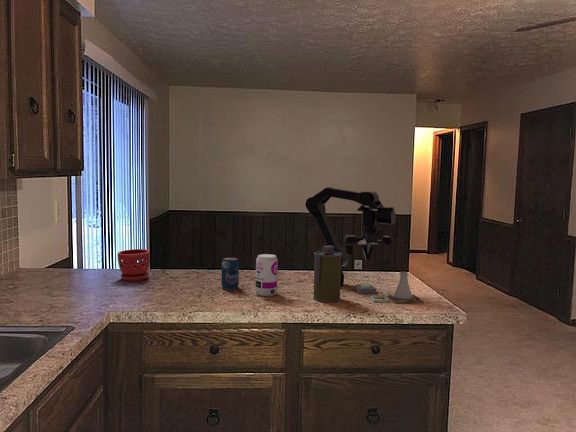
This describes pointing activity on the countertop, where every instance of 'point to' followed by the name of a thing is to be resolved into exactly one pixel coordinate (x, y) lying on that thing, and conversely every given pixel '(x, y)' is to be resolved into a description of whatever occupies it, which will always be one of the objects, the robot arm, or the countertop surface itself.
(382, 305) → the countertop surface
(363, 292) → the button housing
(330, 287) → the canister
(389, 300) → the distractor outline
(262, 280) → the supplement can
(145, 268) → the plant pot
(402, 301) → the outline
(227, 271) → the soda can
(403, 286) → the flask
